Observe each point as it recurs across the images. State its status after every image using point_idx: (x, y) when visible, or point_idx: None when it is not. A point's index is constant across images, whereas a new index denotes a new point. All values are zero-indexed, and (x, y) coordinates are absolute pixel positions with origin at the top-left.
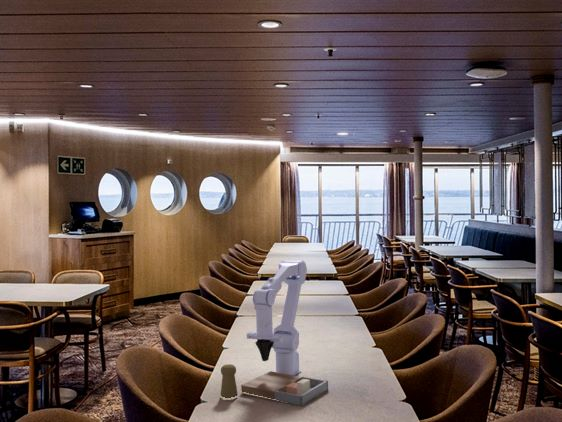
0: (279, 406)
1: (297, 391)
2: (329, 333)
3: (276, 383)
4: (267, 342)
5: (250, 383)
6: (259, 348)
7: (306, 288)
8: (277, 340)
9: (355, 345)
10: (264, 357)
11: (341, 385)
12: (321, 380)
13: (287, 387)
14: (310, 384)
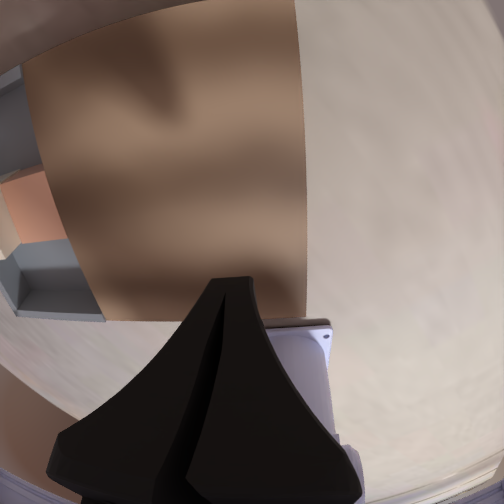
0: (5, 36)
1: (4, 177)
2: None
3: (107, 169)
4: (74, 489)
5: (256, 55)
6: (260, 390)
7: (439, 497)
8: (8, 490)
9: None
10: (203, 302)
11: (49, 339)
12: (26, 310)
13: (38, 170)
14: (74, 294)
